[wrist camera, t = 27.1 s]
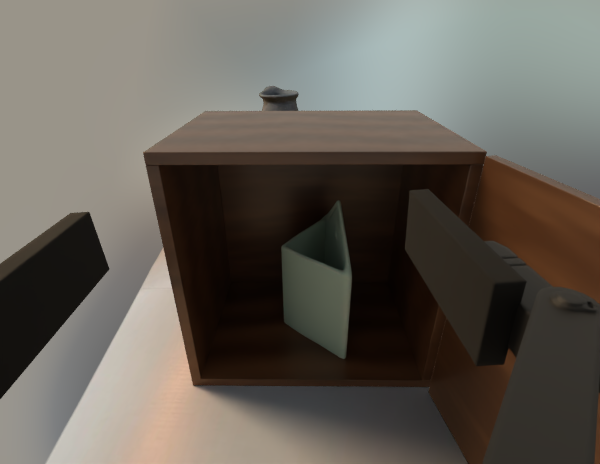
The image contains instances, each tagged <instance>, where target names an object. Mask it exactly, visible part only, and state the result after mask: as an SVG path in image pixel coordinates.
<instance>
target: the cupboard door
mask: <svg viewBox="0 0 600 464" xmlns="http://www.w3.org/2000/svg"><path fill="white" fill-rule="evenodd" d="M469 228H470V229H471V230H472V231H474V232H475V233H476V234H477V235H478V236H479V237H480V238H481V239H482V240H483V241H495V242H497V243H499V244H501V245H503V246H506V247H508V248H509V249H510V250H511V251H512V252H514V253H515V254H516V255H517V256H518V258H521V259H522V260H523V261H524V262H525V263H526V265H529V266H530V267H531V268H532V269H533V270H534V271H536V272H537V273H538V274H539V275H540V276H541V277H542V278H544V279H545V280H546V281H547V282H548V283H549V284H551V285H552V286H553V287H563V288H568V289H572V290H575V291H578V292H581V293H584V294H586V295H587V296H589V297H591V298H593V299H594V300H595V301H596V302H597V303H599V304H600V199H598V198H596V197H593V196H591V195H589V194H586V193H584V192H581V191H579V190H577V189H574V188H572V187H570V186H567V185H565V184H562V183H560V182H557V181H555V180H553V179H550V178H548V177H546V176H543V175H541V174H539V173H536V172H534V171H532V170H529V169H526V168H525V167H522V166H520V165H517V164H515V163H513V162H510V161H508V160H505V159H503V158H501V157H498V156H486V158H485V162H484V166H483V170H482V174H481V178H480V182H479V186H478V190H477V195H476V199H475V203H474V207H473V211H472V215H471V219H470V223H469ZM515 360H516V357H515V355H514V354H513V353H512V351H511V350H510V349H509V348H508V352H507V356H506V359H505V363H504V365H490V366H476V365H475V363H474V362H473V360H472V358H471V357H470V355H469V353H468V352H467V350H466V349H465V347H464V345H463V344H462V342H461V340H460V339H459V337H458V335H457V334H456V332H455V331H454V329H453V327H452V326H451V324H450V322H449V321H448V319H447V317H446V322H445V326H444V330H443V334H442V338H441V342H440V346H439V350H438V354H437V358H436V363H435V367H434V371H433V375H432V379H431V383H430V387H429V391H428V392H429V394H430V396H431V398H432V399H433V401H434V403H435V405H436V406H437V408H438V410H439V412H440V414H441V415H442V417H443V419H444V421H445V423H446V424H447V426H448V428H449V430H450V432H451V433H452V435H453V437H454V439H455V440H456V442H457V444H458V446H459V448H460V449H461V451H462V453H463V455H464V457H465V458H466V460H467V462H468V464H482V463H483V460H484V456H485V453H486V450H487V447H488V444H489V441H490V438H491V435H492V432H493V429H494V425H495V422H496V419H497V416H498V413H499V410H500V407H501V404H502V401H503V398H504V394H505V391H506V388H507V385H508V382H509V379H510V376H511V373H512V370H513V367H514V363H515ZM594 464H600V393H599V396H598V412H597V429H596V445H595V462H594Z"/></svg>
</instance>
